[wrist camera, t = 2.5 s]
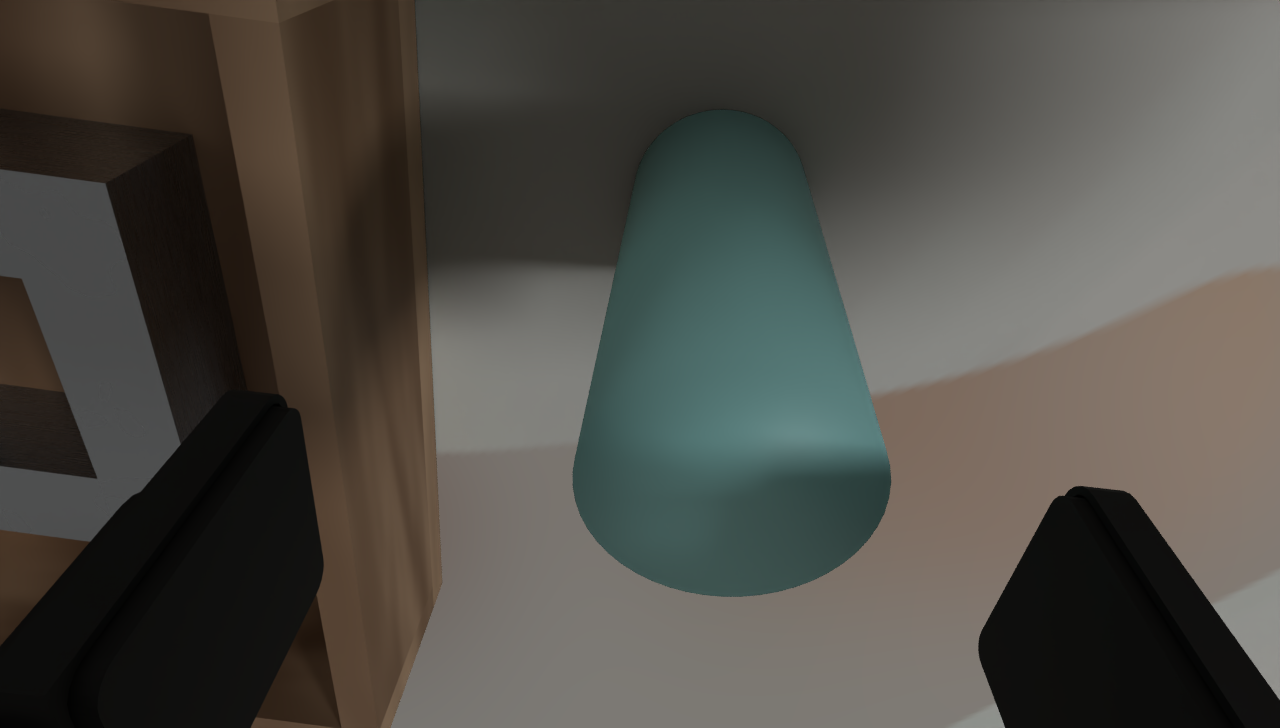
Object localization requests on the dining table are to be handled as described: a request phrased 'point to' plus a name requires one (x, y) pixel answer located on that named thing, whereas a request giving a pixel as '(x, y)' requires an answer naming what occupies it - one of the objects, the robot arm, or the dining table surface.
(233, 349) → the bore plate
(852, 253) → the dining table surface
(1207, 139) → the dining table surface
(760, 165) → the peg
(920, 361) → the dining table surface
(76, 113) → the box
